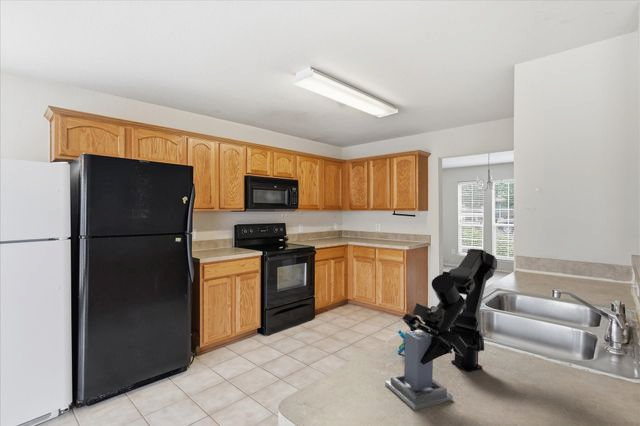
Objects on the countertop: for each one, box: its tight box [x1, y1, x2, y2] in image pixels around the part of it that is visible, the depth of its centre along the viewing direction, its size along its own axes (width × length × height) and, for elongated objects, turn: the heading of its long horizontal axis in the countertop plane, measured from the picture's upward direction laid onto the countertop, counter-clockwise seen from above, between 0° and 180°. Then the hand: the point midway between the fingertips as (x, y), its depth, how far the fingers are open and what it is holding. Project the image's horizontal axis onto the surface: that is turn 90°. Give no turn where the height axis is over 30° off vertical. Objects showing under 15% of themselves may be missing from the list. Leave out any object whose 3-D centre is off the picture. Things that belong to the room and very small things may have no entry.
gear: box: [397, 329, 405, 355], centre depth 106 cm, size 11×6×10 cm
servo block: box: [403, 330, 434, 390], centre depth 83 cm, size 5×5×14 cm
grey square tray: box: [384, 373, 454, 411], centre depth 83 cm, size 12×12×2 cm
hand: (414, 358), depth 82 cm, fingers closed on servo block, 5 cm apart
